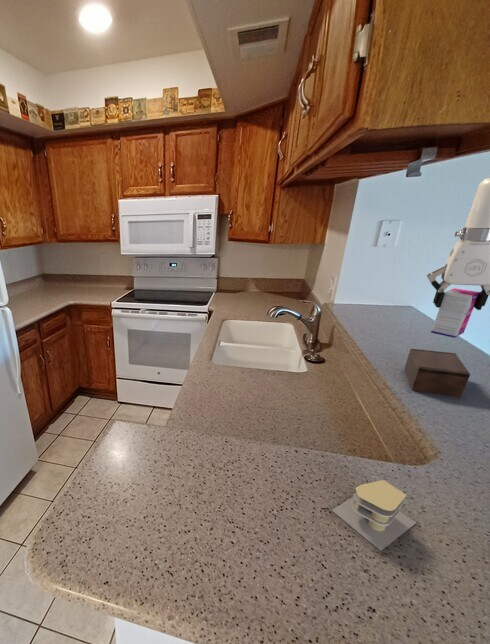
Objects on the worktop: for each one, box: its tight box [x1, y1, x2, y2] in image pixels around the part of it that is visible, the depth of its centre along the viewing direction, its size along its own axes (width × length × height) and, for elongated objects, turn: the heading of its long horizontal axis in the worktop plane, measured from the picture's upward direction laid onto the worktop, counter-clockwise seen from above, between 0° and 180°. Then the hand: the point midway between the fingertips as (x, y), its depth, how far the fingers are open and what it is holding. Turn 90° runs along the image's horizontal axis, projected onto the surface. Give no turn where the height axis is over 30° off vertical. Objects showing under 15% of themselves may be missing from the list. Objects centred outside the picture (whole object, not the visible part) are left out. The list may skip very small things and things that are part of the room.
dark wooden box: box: [403, 348, 471, 398], centre depth 95 cm, size 11×14×7 cm
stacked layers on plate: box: [331, 479, 417, 551], centre depth 56 cm, size 10×9×6 cm
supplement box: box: [430, 288, 481, 339], centre depth 87 cm, size 6×6×12 cm
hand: (456, 307), depth 86 cm, fingers closed on supplement box, 7 cm apart
